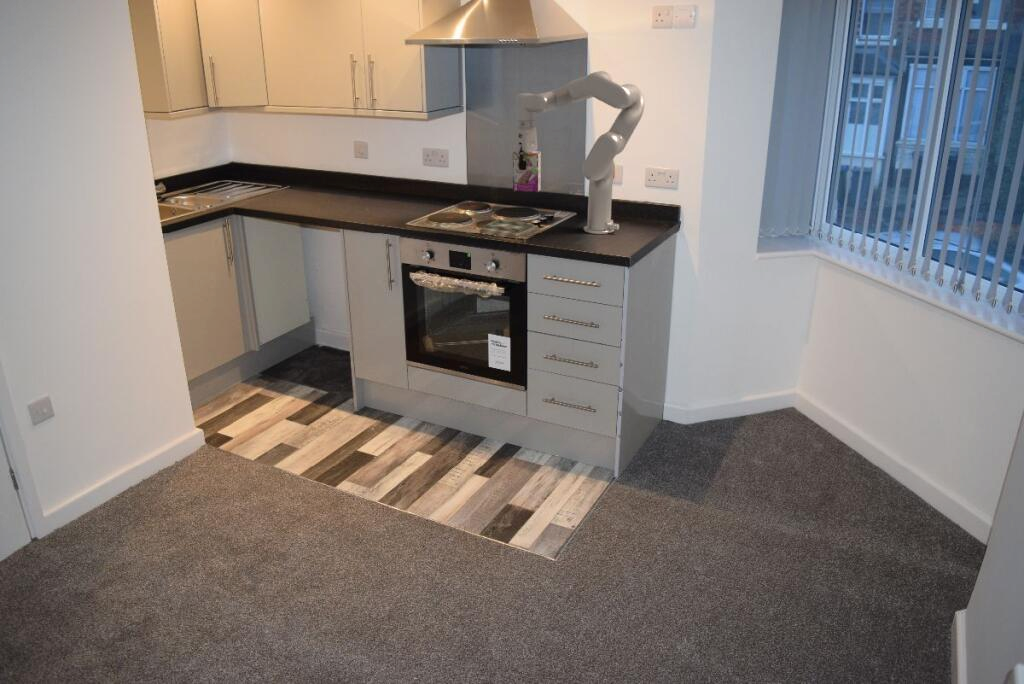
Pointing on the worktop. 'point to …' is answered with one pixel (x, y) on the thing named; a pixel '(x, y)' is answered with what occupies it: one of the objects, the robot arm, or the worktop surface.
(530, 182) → the candy bar box
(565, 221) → the worktop surface
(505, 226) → the foundation plinth
